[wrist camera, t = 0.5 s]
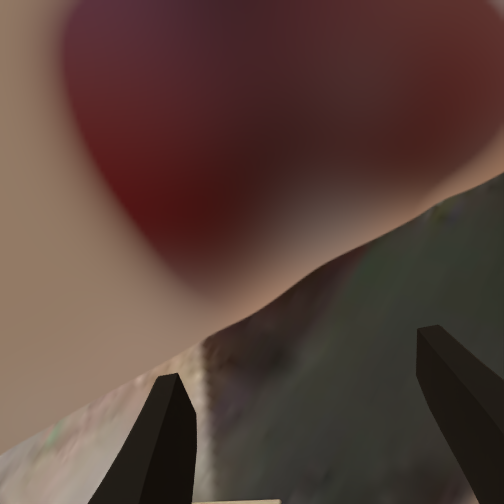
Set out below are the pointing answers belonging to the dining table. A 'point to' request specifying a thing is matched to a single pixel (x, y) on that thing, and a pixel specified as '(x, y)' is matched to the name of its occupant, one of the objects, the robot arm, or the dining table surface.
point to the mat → (243, 502)
